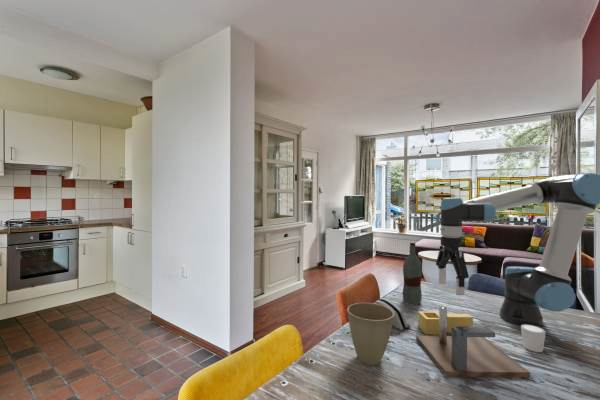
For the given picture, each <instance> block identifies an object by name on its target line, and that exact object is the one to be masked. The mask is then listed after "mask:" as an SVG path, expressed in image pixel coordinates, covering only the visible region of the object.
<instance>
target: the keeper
mask: <svg viewBox="0 0 600 400" xmlns="http://www.w3.org/2000/svg"><path fill="white" fill-rule="evenodd" d="M451 336H452V355H451V365H452V367H453V368H454V369H455V370H456V371H467V337H485V338H496V332H495V331H494V330H492V329H491V328H490V327H488V326H476V325H475V326H474V325H473V326H456V327H452V332H451Z"/></svg>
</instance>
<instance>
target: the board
mask: <svg viewBox="0 0 600 400" xmlns="http://www.w3.org/2000/svg"><path fill="white" fill-rule="evenodd" d="M415 339H416V342H417V343H418V344H419V345H420V346H421V348H422V349H423V350H424V351H425V353H426V354H427V355H428V356H429V357H430V359H431V360H432V361H433V363H434V364H435V365H436V367H438V368H439V370H440V371H441V372H442V374H443V375H444V376H445V377H455V378H456V377H458V378H459V377H464V378H466V377H469V378H470V377H472V378H473V377H477V378H479V377H480V378H481V377H482V378H483V377H484V378H486V377H487V378H530V377H531V372H530V371H529V370H528V369H526V368H525V367H524V366H522V365H521V364H520V363H519V362H517V361H516V360H514V359H513V358H512V357H511V356H509V355H508V354H507V353H506V352H504V351H503V350H501V349H500V348H499V347H498V346H496V345H495V344H494V343H492V342H491V341H490V340H488V339H487V337H467V371H456V370H455V369H454V368H453V367H452V365H451V355H452V335H447V344H441V343H439V335H416V337H415Z"/></svg>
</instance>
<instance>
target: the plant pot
mask: <svg viewBox="0 0 600 400" xmlns="http://www.w3.org/2000/svg"><path fill="white" fill-rule="evenodd" d="M347 318H348V325H349V330H350V336H351V340H352V342H353V343H352V344H353V347H354V350H355V354H356V356H357V359H358V360H359V362H361V363H362V364H365V365H368V366H376V365H379V364H380V363H381V361H382V359H383V357H384V355H385V352H386V349H387V346H388V343H389V340H390V336H391V332H392V329H393V318H394V313H393V311H392V310H391V309H389V308H387V307H385V306H382V305H378V304H375V303H372V302H357V303H353V304H350V305H348V307H347Z"/></svg>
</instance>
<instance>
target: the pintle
mask: <svg viewBox="0 0 600 400" xmlns="http://www.w3.org/2000/svg"><path fill="white" fill-rule="evenodd" d="M438 313H439V335H438V336H439V343H441V344H447V336H448V332H447V314H448V307H446V306H439V312H438Z"/></svg>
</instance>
